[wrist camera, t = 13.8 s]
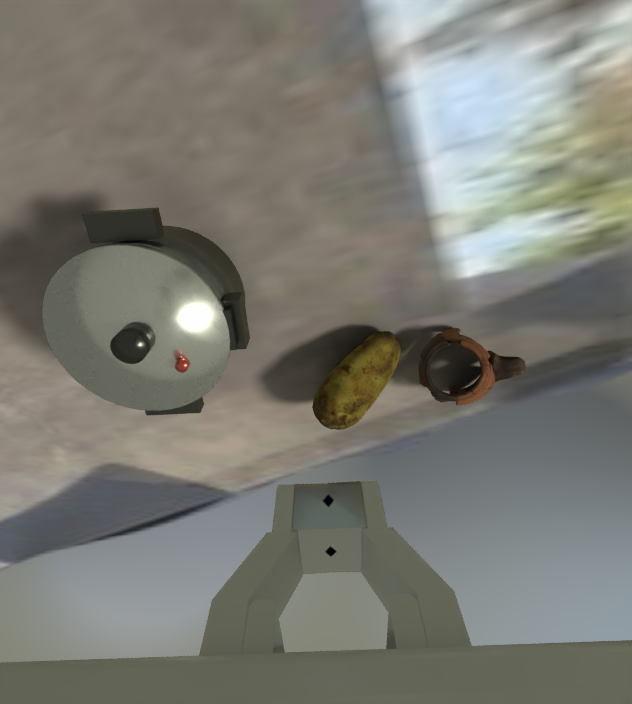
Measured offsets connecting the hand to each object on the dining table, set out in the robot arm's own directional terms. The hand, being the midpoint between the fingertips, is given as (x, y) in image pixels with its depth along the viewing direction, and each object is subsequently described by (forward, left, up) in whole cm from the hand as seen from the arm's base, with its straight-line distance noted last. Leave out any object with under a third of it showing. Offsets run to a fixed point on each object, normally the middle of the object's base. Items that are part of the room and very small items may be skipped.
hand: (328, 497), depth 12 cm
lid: (+5, -17, -25) cm, 30 cm away
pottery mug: (+15, +18, -35) cm, 42 cm away
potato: (+16, +4, -35) cm, 39 cm away
